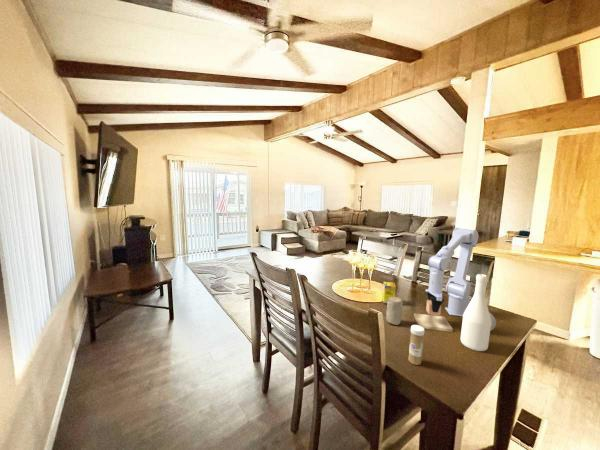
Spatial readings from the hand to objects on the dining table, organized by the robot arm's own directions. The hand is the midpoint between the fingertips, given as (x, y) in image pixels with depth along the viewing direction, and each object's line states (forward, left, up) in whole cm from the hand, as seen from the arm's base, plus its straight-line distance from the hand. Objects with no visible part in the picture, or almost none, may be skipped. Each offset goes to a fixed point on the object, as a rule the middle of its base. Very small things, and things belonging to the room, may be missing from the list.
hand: (433, 309), depth 123 cm
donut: (-20, +2, -7) cm, 21 cm away
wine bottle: (-12, +15, -7) cm, 21 cm away
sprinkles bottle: (+14, +32, -7) cm, 36 cm away
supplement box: (+18, -19, -7) cm, 27 cm away
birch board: (0, 0, -7) cm, 7 cm away
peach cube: (0, 0, -2) cm, 2 cm away
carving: (+18, +4, -7) cm, 20 cm away
